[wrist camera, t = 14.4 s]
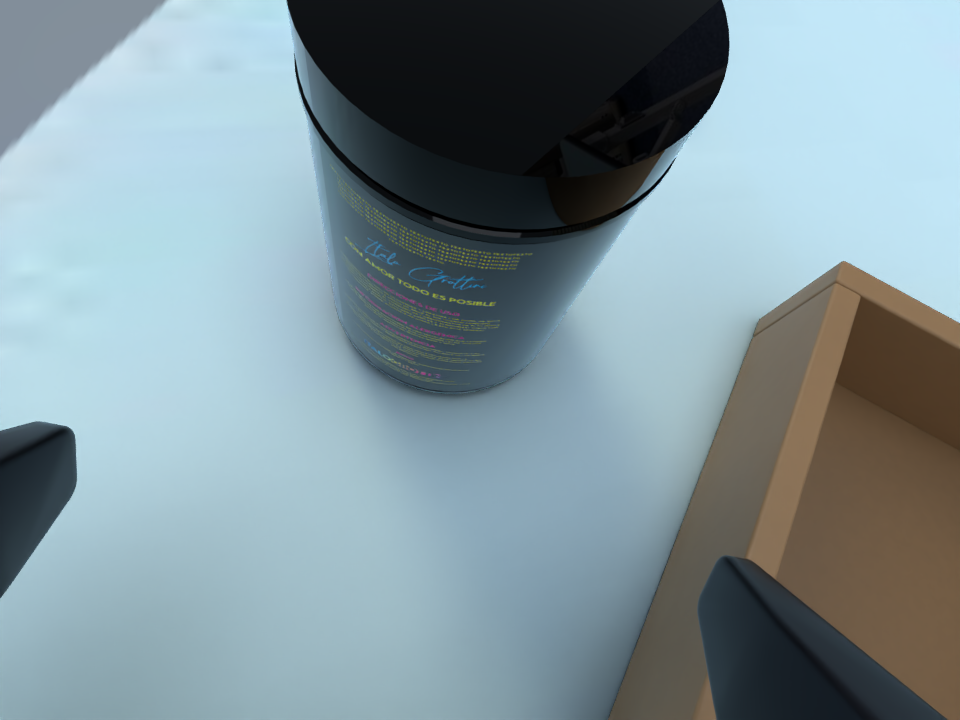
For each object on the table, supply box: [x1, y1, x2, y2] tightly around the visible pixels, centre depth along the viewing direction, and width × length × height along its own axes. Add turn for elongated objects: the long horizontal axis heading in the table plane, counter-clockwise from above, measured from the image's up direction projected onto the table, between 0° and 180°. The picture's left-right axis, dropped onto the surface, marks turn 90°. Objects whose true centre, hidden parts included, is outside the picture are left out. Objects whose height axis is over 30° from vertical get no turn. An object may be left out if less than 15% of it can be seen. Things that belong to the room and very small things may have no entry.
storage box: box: [608, 261, 960, 720], centre depth 15 cm, size 15×14×4 cm
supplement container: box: [286, 0, 729, 394], centre depth 14 cm, size 7×7×10 cm
